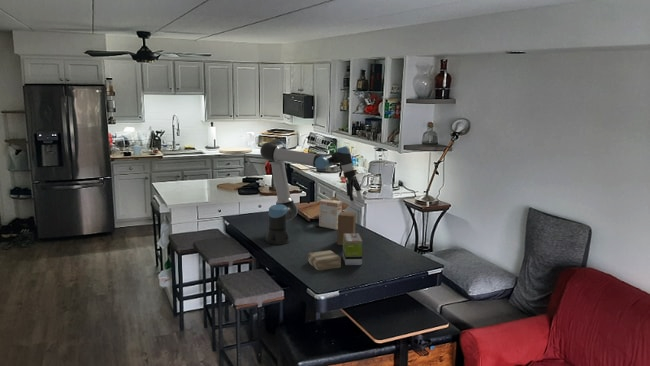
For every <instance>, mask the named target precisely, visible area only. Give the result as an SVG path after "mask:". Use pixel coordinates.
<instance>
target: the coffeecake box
mask: <svg viewBox="0 0 650 366" xmlns="http://www.w3.org/2000/svg"><path fill="white" fill-rule="evenodd" d="M342 206H343V201H340V200H336V199H335V200H334V199H327V198H323V199H320V200H319V210H318V211H319V213H318V214H319V217H318V220H319V221H318V226H319V227H321V228H327V229H332V230H337V231H338V215H339V214H340V212H343V210H342V209H343V207H342Z"/></svg>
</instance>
